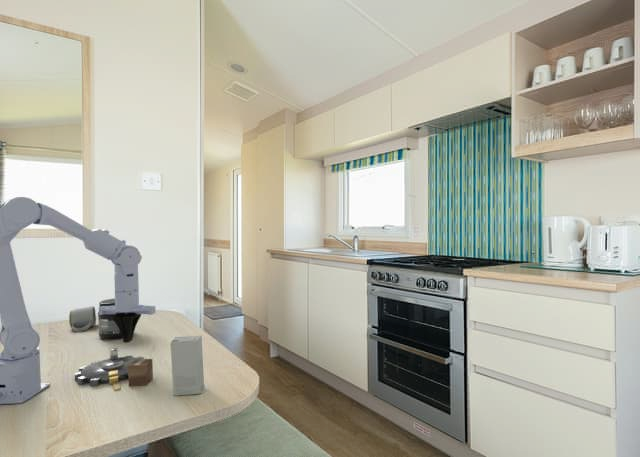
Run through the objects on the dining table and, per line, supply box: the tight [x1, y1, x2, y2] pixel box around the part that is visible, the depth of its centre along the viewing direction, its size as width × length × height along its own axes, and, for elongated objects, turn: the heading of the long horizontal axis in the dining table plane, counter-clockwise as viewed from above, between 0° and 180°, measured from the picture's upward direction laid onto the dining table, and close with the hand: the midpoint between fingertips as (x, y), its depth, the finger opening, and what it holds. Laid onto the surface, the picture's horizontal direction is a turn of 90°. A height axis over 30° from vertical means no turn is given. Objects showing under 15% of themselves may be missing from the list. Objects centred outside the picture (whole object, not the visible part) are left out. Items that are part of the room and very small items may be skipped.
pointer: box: [112, 382, 121, 392], centre depth 91 cm, size 4×1×1 cm, turn 32°
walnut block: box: [127, 358, 154, 387], centre depth 93 cm, size 4×4×5 cm
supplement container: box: [97, 297, 123, 341], centre depth 133 cm, size 10×10×12 cm
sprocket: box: [74, 347, 145, 387], centre depth 100 cm, size 16×16×4 cm
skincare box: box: [170, 335, 205, 397], centre depth 88 cm, size 6×4×12 cm
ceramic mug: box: [68, 305, 97, 333], centre depth 143 cm, size 10×8×7 cm
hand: (127, 341), depth 105 cm, fingers closed
